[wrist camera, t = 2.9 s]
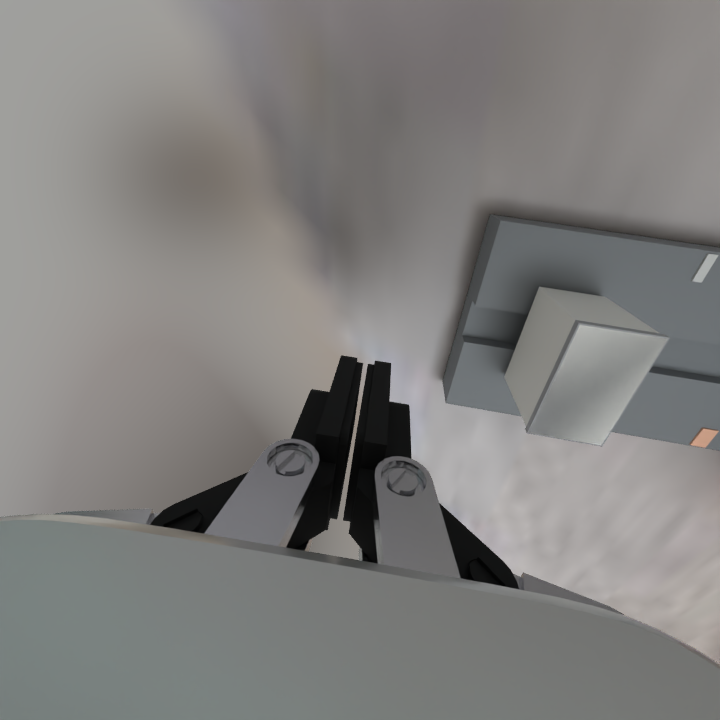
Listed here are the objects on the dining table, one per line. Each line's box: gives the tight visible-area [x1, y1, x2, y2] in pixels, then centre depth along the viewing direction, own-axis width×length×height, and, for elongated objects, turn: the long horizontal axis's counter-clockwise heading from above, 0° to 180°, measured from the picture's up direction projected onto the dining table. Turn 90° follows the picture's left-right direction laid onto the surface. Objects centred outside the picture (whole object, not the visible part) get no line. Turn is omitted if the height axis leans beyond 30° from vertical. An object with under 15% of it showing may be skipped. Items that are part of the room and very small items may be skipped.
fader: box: [504, 287, 670, 446], centre depth 16 cm, size 3×5×5 cm, turn 173°
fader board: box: [443, 214, 720, 451], centre depth 18 cm, size 18×10×4 cm, turn 83°
